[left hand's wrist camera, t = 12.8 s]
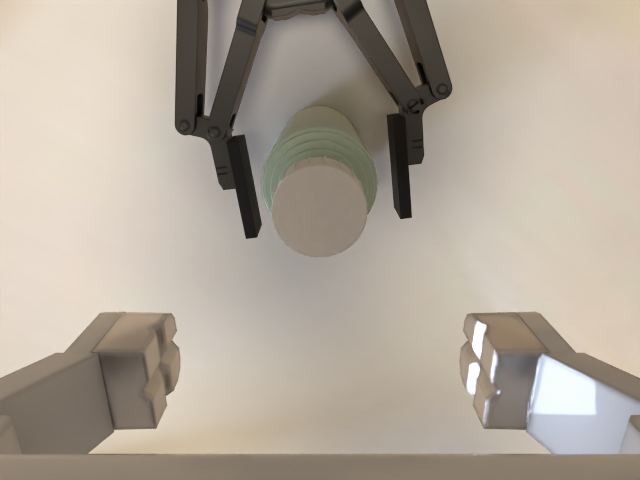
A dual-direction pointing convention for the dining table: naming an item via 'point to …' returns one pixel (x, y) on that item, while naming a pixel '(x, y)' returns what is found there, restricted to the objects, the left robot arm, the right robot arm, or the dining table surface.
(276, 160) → the bottle
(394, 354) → the dining table surface
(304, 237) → the cap
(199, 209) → the dining table surface
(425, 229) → the dining table surface
